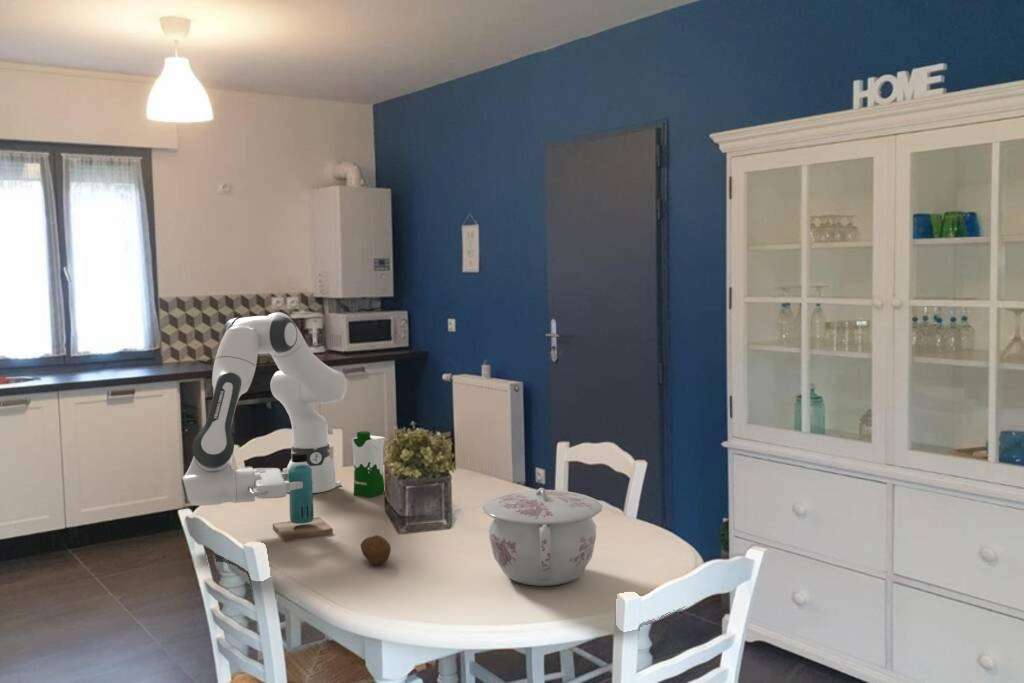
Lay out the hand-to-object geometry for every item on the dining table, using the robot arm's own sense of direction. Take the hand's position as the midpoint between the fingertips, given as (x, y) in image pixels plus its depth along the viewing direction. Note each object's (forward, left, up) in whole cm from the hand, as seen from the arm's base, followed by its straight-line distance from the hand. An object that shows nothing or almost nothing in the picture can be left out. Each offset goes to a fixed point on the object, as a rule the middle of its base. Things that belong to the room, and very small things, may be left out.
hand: (300, 480), depth 244 cm
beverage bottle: (0, 0, -13) cm, 13 cm away
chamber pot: (+63, +39, -14) cm, 75 cm away
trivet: (0, 0, -14) cm, 14 cm away
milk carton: (-29, +29, -14) cm, 44 cm away
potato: (+35, +9, -14) cm, 39 cm away
